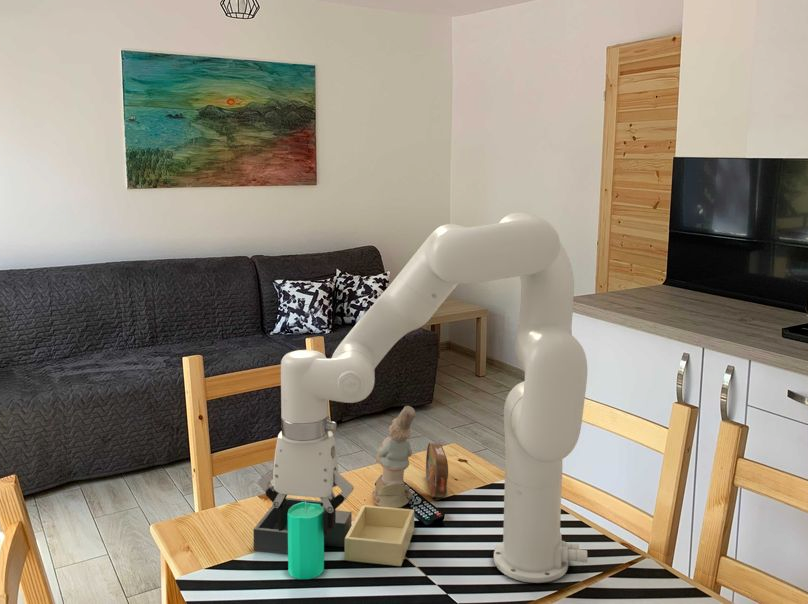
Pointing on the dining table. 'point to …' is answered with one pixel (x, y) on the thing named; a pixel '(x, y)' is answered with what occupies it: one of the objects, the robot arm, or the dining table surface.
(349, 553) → the cream bin
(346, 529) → the block
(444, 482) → the tin
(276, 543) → the charcoal bin
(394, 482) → the figurine
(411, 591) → the dining table surface
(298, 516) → the candle
